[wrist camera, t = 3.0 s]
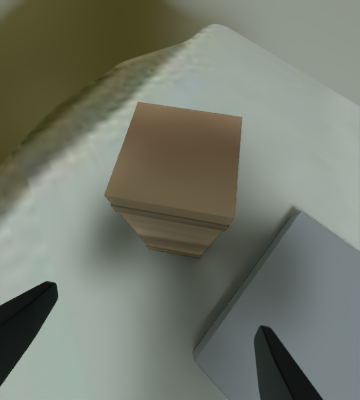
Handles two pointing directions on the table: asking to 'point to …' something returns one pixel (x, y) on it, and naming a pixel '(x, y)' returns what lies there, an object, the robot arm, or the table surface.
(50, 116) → the table surface
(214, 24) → the table surface
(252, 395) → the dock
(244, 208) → the table surface
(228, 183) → the brown block
